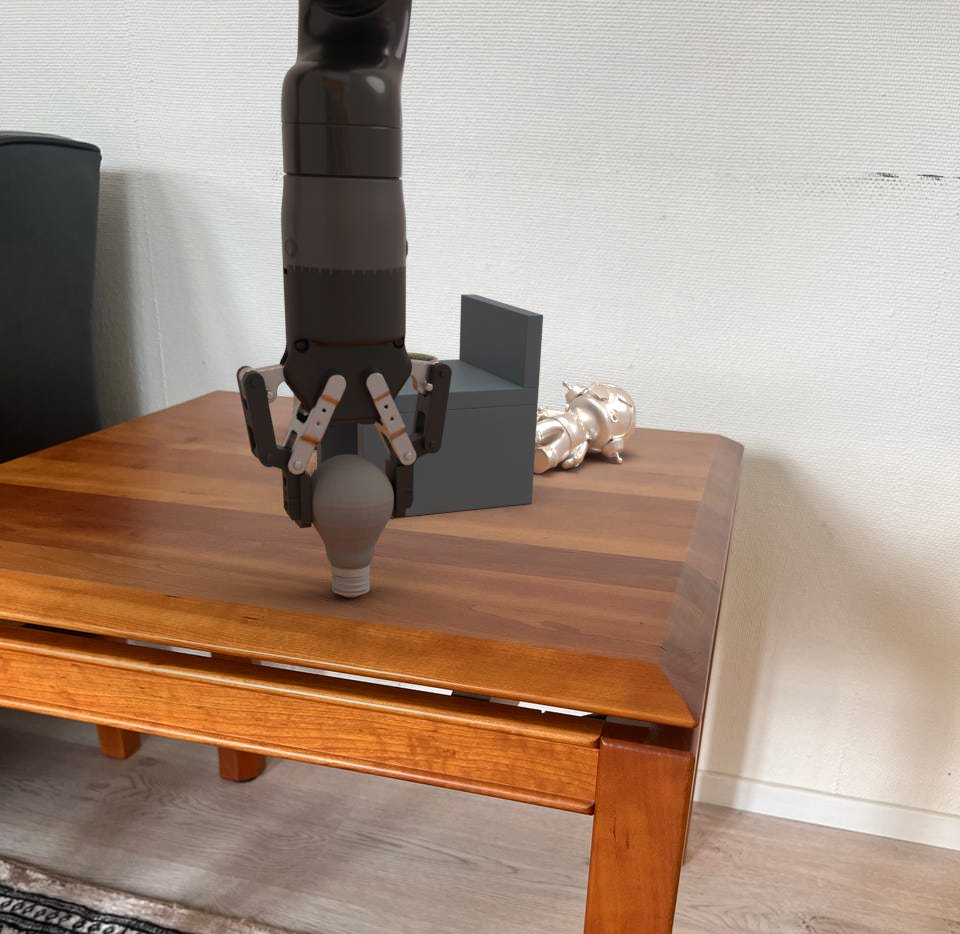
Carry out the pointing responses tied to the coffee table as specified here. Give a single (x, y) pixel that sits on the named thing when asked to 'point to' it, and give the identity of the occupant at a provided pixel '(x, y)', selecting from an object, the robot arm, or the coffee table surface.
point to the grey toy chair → (471, 417)
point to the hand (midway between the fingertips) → (349, 518)
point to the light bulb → (350, 517)
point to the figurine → (584, 426)
